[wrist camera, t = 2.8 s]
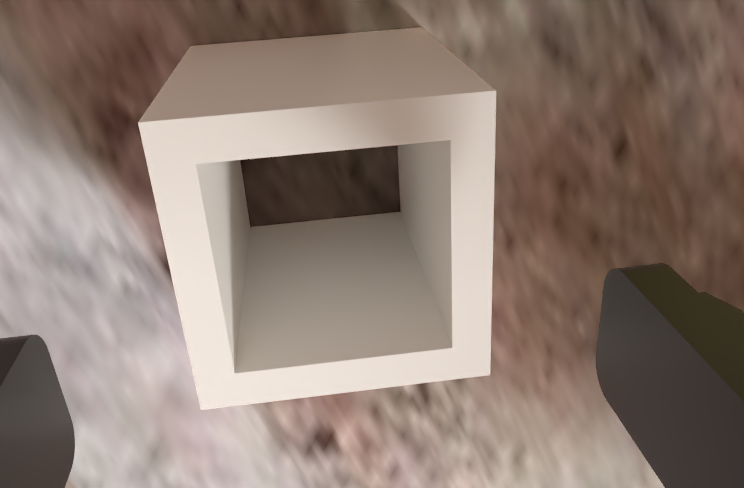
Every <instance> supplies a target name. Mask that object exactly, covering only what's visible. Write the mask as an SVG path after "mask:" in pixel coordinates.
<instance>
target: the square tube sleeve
mask: <svg viewBox="0 0 744 488" xmlns="http://www.w3.org/2000/svg"><path fill="white" fill-rule="evenodd" d="M138 125H139V130H140V135H141V139H142V144H143V148H144V153H145V157H146V162H147V166H148V171H149V176H150V180H151V185H152V189H153V194H154V198H155V203H156V208H157V212H158V217H159V221H160V226H161V230H162V235H163V240H164V244H165V249H166V253H167V258H168V262H169V267H170V272H171V276H172V281H173V285H174V290H175V294H176V299H177V304H178V308H179V313H180V317H181V322H182V326H183V331H184V336H185V340H186V345H187V349H188V354H189V358H190V363H191V368H192V372H193V377H194V381H195V386H196V390H197V395H198V400H199V404H200V409H201V410H206V409H214V408H222V407H231V406H239V405H247V404H255V403H264V402H272V401H280V400H288V399H297V398H305V397H313V396H321V395H330V394H338V393H346V392H354V391H362V390H371V389H379V388H387V387H395V386H404V385H412V384H420V383H428V382H437V381H445V380H453V379H461V378H470V377H478V376H486V375H490V361H491V315H492V269H493V223H494V177H495V131H496V90H495V89H494V88H493V87H492V86H490V85H489V84H488V83H487V82H486V81H485V80H483V79H482V78H481V77H480V76H479V75H478V74H476V73H475V72H474V71H473V70H472V69H471V68H469V67H468V66H467V65H466V64H465V63H464V62H462V61H461V60H460V59H459V58H458V57H457V56H455V55H454V54H453V53H452V52H451V51H450V50H448V49H447V48H446V47H445V46H444V45H443V44H441V43H440V42H439V41H438V40H437V39H436V38H434V37H433V36H432V35H431V34H430V33H429V32H427V31H426V30H425V29H424V28H423V27H418V28H406V29H393V30H381V31H369V32H357V33H344V34H332V35H320V36H307V37H295V38H283V39H270V40H258V41H246V42H233V43H221V44H209V45H197V46H190V48H189V49H188V50H187V52H186V53H185V55H184V56H183V58H182V59H181V61H180V62H179V63H178V65H177V66H176V68H175V69H174V71H173V72H172V74H171V75H170V77H169V78H168V79H167V81H166V82H165V84H164V85H163V87H162V88H161V90H160V91H159V93H158V94H157V95H156V97H155V98H154V100H153V101H152V103H151V104H150V106H149V107H148V109H147V110H146V111H145V113H144V114H143V116H142V117H141V119H140V120H139V122H138ZM393 145H397V148H398V170H399V192H400V212H393V213H383V214H374V215H364V216H354V217H344V218H334V219H324V220H315V221H305V222H295V223H285V224H275V225H265V226H256V227H250V221H249V214H248V208H247V201H246V195H245V189H244V182H243V176H242V169H241V163H240V160H245V159H255V158H266V157H277V156H287V155H298V154H308V153H319V152H330V151H340V150H351V149H361V148H372V147H383V146H393Z"/></svg>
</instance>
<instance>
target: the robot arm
mask: <svg viewBox="0 0 744 488" xmlns="http://www.w3.org/2000/svg"><path fill="white" fill-rule="evenodd" d="M596 369H597V375H598V380H599V383H600V387H601V389H602V392H603V394H604V396H605V398H606V399H607V401H608V403H609V404H610V406H611V407H612V409H613V410H614V412H615V413H616V415H617V416H618V418H619V419H620V421H621V422H622V424H623V425H624V427H625V428H626V430H627V431H628V433H629V434H630V436H631V437H632V439H633V440H634V442H635V443H636V445H637V446H638V448H639V449H640V451H641V452H642V454H643V455H644V457H645V458H646V460H647V461H648V463H649V464H650V466H651V467H652V469H653V470H654V472H655V473H656V475H657V476H658V478H659V479H660V481H661V482H662V484H663V485H664V487H665V488H744V313H743V312H742V311H741V310H740V309H738V308H736V307H734V306H732V305H730V304H728V303H726V302H723V301H721V300H719V299H717V298H715V297H713V296H711V295H709V294H707V293H705V292H703V293H698V292H697V291H696V290H694V289H693V288H692V287H691V286H690V285H689V284H688V283H687V282H686V281H685V280H684V279H683V278H681V277H680V276H679V275H678V274H677V273H676V272H675V271H674V270H673V269H672V268H671V267H669V266H668V265H666V264H662V263H660V264H651V265H643V266H634V267H626V268H617V269H612V270H610V271H609V273H608V274H607V276H606V279H605V282H604V289H603V298H602V307H601V316H600V325H599V334H598V342H597V351H596ZM74 450H75V439H74V429H73V424H72V420H71V417H70V414H69V411H68V408H67V405H66V402H65V399H64V396H63V393H62V390H61V387H60V384H59V381H58V378H57V375H56V372H55V369H54V366H53V363H52V360H51V357H50V354H49V351H48V349H47V346H46V344H45V342H44V341H43V339H42V338H41V337H40V336H38V335H27V336H18V337H10V338H1V339H0V488H65V485H66V482H67V479H68V477H69V474H70V471H71V468H72V464H73V459H74Z"/></svg>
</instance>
